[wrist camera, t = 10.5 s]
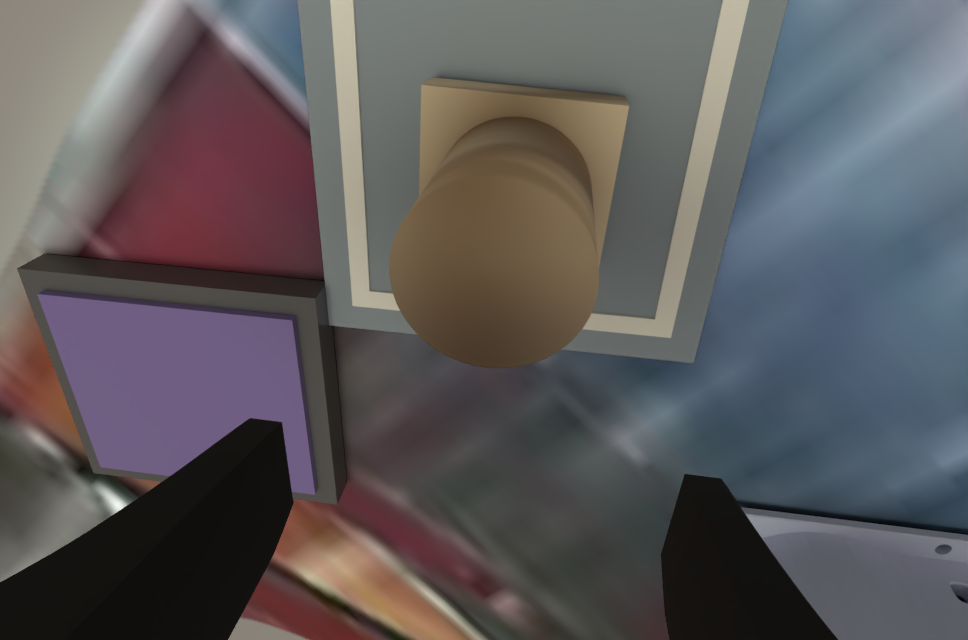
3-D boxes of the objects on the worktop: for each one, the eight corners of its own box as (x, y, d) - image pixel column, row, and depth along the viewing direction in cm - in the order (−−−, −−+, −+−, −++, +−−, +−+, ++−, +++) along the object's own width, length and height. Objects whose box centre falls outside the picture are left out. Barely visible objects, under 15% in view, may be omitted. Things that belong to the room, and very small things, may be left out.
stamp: (624, 93, 16) (652, 164, 10) (592, 268, 18) (601, 402, 13) (434, 74, 16) (360, 134, 11) (428, 248, 19) (366, 371, 13)
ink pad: (328, 281, 20) (311, 303, 19) (347, 481, 25) (334, 510, 23) (44, 253, 21) (9, 272, 20) (112, 452, 26) (88, 478, 24)
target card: (806, -85, 14) (812, -87, 14) (692, 358, 20) (694, 365, 20) (291, -108, 15) (285, -109, 15) (331, 320, 21) (327, 326, 21)
